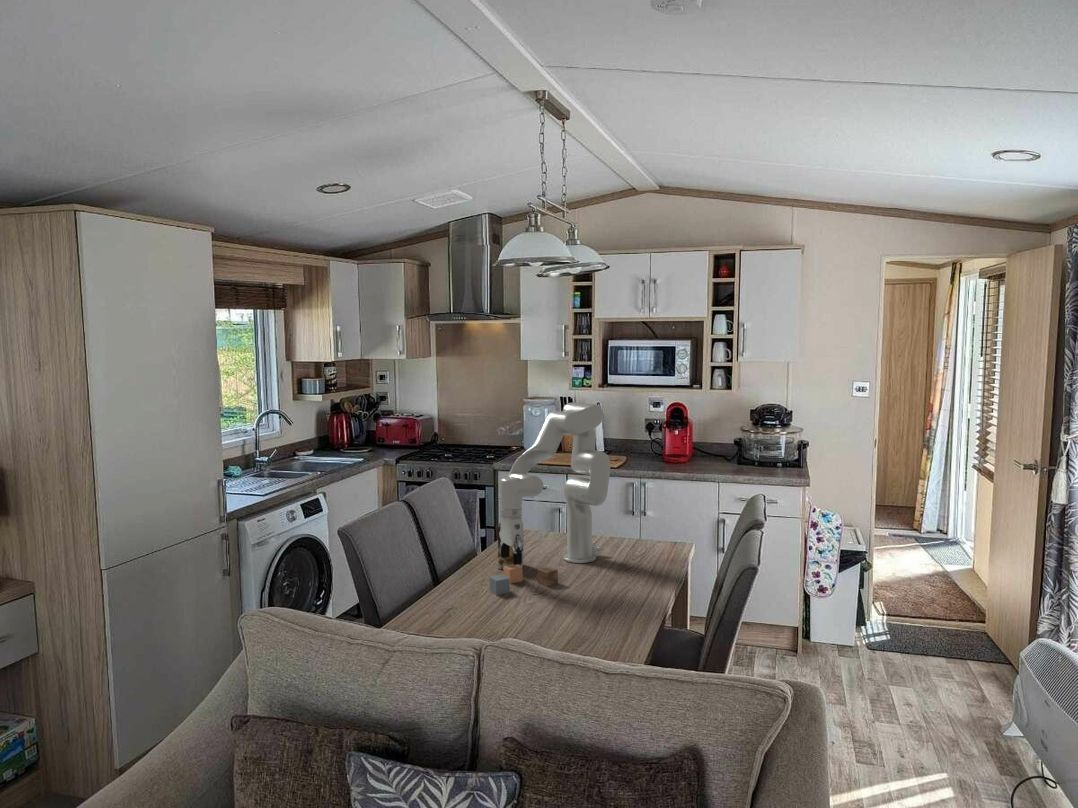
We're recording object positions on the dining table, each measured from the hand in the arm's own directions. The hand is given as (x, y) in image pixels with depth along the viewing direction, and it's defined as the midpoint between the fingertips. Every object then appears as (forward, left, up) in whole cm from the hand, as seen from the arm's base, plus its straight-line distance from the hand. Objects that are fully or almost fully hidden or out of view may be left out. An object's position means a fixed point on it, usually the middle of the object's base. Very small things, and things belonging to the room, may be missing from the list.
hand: (511, 560), depth 264 cm
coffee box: (-7, -14, -8) cm, 17 cm away
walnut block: (-10, +9, -7) cm, 15 cm away
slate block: (+8, +8, -7) cm, 14 cm away
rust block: (-1, 0, -7) cm, 7 cm away
